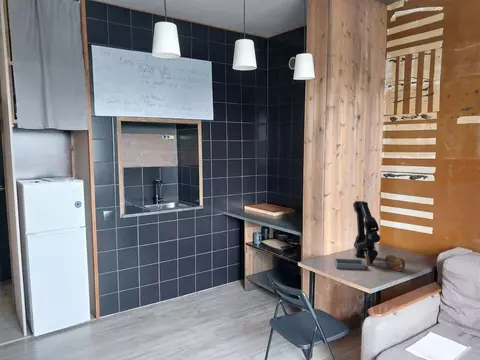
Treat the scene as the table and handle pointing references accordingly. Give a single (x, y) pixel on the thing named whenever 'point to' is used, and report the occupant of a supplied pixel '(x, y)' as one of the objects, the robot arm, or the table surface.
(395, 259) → the tin
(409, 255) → the table surface
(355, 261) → the bin
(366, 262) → the block
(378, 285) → the table surface
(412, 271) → the table surface
